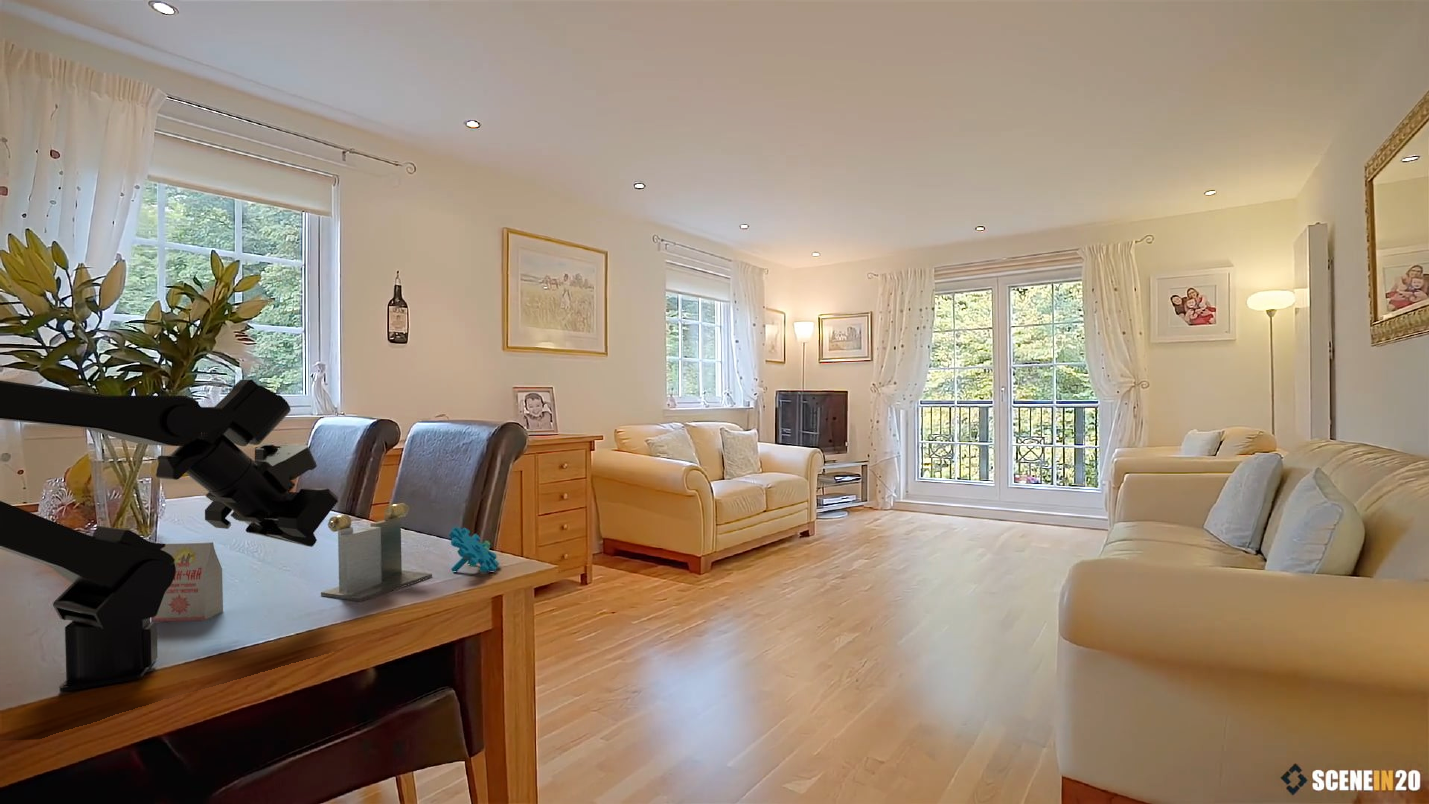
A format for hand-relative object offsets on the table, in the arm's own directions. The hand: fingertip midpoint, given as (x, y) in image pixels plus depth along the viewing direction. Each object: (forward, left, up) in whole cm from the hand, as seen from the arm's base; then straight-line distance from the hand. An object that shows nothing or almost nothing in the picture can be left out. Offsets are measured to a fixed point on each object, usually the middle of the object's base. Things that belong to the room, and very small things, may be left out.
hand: (312, 543), depth 93 cm
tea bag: (-15, +5, -9) cm, 18 cm away
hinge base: (+8, +8, -9) cm, 15 cm away
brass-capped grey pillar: (+5, +5, -9) cm, 12 cm away
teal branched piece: (+23, +9, -9) cm, 26 cm away
